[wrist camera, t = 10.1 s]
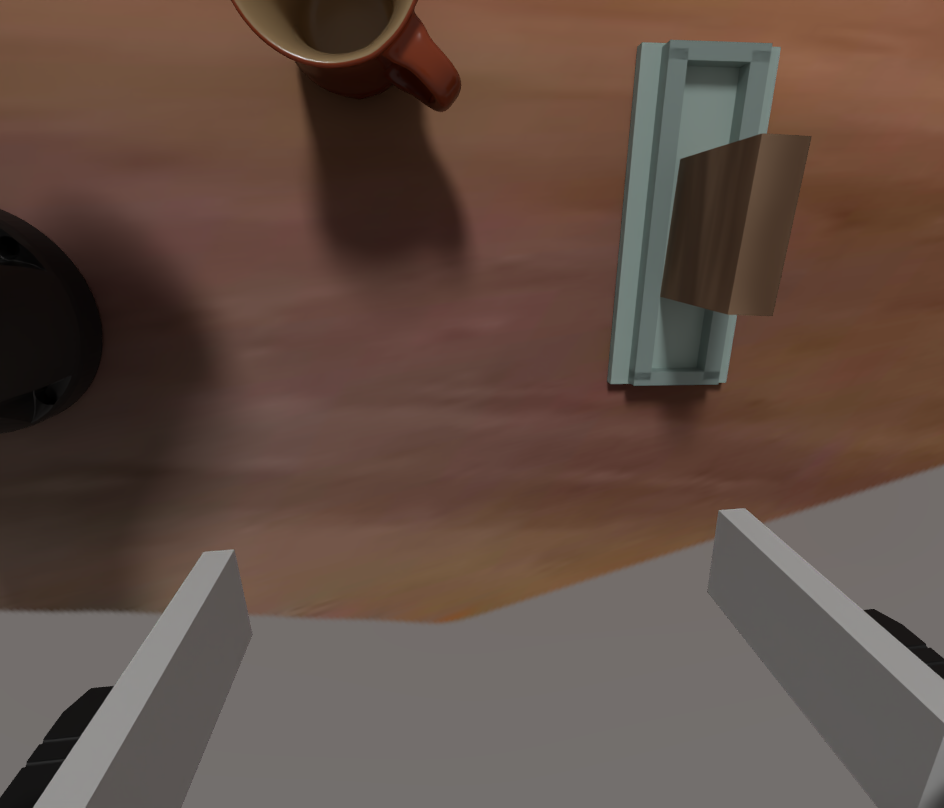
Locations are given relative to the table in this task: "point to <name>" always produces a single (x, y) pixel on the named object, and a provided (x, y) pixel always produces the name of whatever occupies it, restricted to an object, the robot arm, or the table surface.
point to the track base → (652, 197)
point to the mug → (357, 46)
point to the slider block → (734, 224)
